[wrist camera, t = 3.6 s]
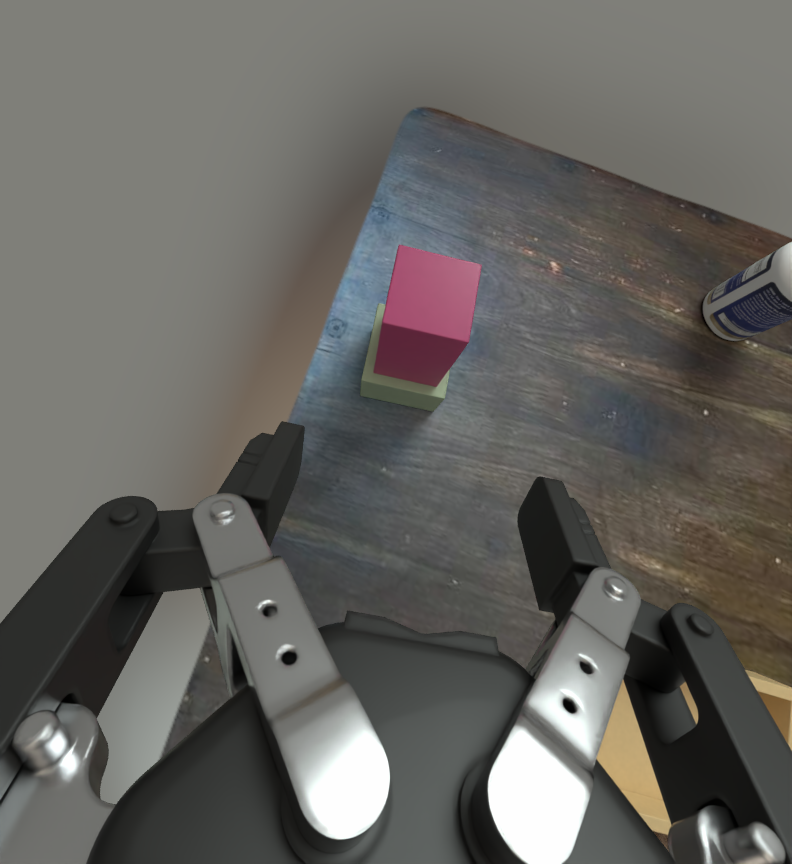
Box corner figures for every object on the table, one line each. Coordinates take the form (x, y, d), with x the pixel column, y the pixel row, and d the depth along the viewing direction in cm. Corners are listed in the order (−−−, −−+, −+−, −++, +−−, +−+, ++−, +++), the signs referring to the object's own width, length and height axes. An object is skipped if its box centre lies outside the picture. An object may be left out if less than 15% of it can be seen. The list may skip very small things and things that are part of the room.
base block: (359, 396, 32) (361, 380, 28) (375, 326, 34) (378, 302, 30) (433, 411, 33) (444, 399, 29) (445, 343, 34) (458, 321, 30)
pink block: (373, 373, 29) (381, 322, 21) (385, 313, 30) (398, 243, 22) (436, 387, 29) (469, 342, 21) (447, 328, 30) (482, 264, 22)
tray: (537, 771, 29) (562, 806, 25) (567, 616, 31) (594, 629, 28) (739, 827, 30) (790, 869, 26) (754, 672, 32) (803, 692, 28)
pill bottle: (759, 342, 37) (900, 284, 28) (706, 343, 37) (832, 285, 27) (746, 287, 38) (878, 214, 29) (694, 287, 38) (812, 213, 28)
